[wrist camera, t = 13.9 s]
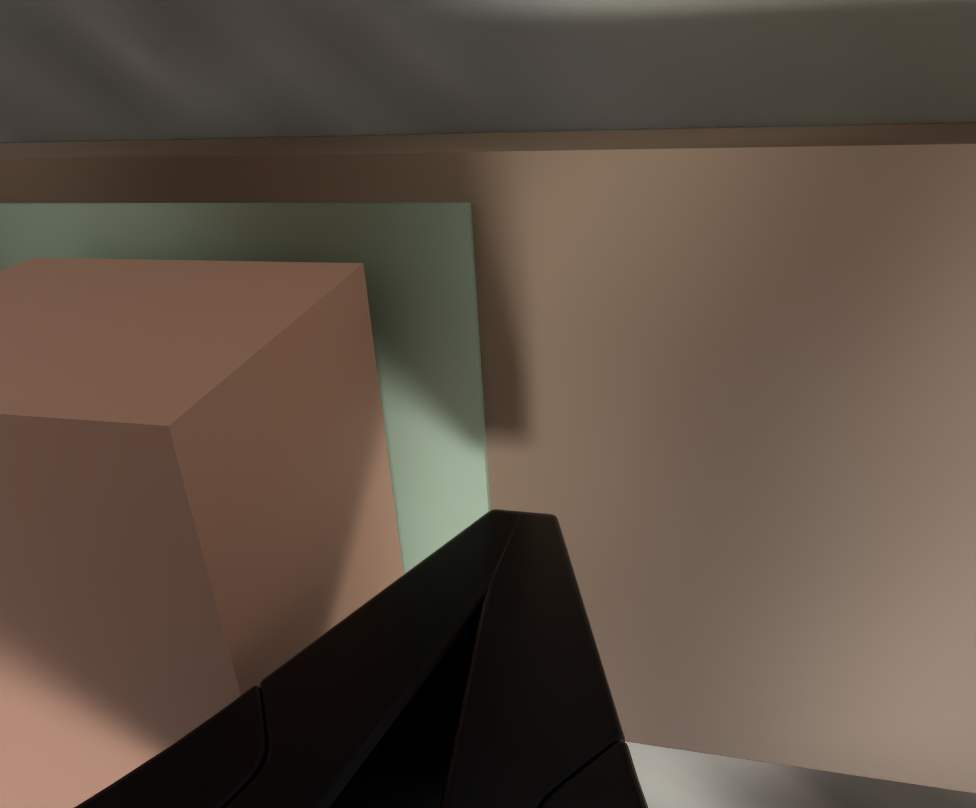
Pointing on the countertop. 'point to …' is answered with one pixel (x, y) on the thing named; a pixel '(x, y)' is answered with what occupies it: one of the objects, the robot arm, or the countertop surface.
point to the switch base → (646, 388)
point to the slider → (175, 499)
